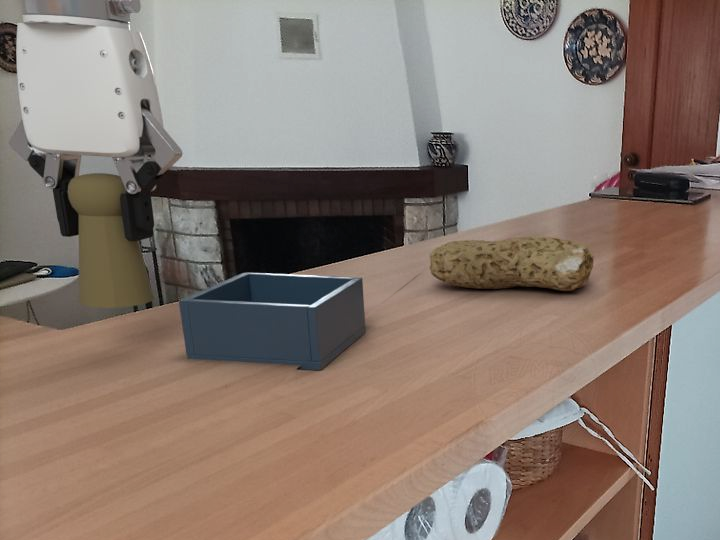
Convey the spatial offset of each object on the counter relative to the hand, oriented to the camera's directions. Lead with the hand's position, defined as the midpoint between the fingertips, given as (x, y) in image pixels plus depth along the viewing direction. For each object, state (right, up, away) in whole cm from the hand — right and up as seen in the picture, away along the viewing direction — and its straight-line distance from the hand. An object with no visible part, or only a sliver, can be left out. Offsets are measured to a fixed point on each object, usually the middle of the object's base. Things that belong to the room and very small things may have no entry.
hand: (107, 234), depth 69 cm
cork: (0, -6, +2) cm, 6 cm away
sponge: (+34, 0, +34) cm, 48 cm away
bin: (+13, -9, +8) cm, 18 cm away
